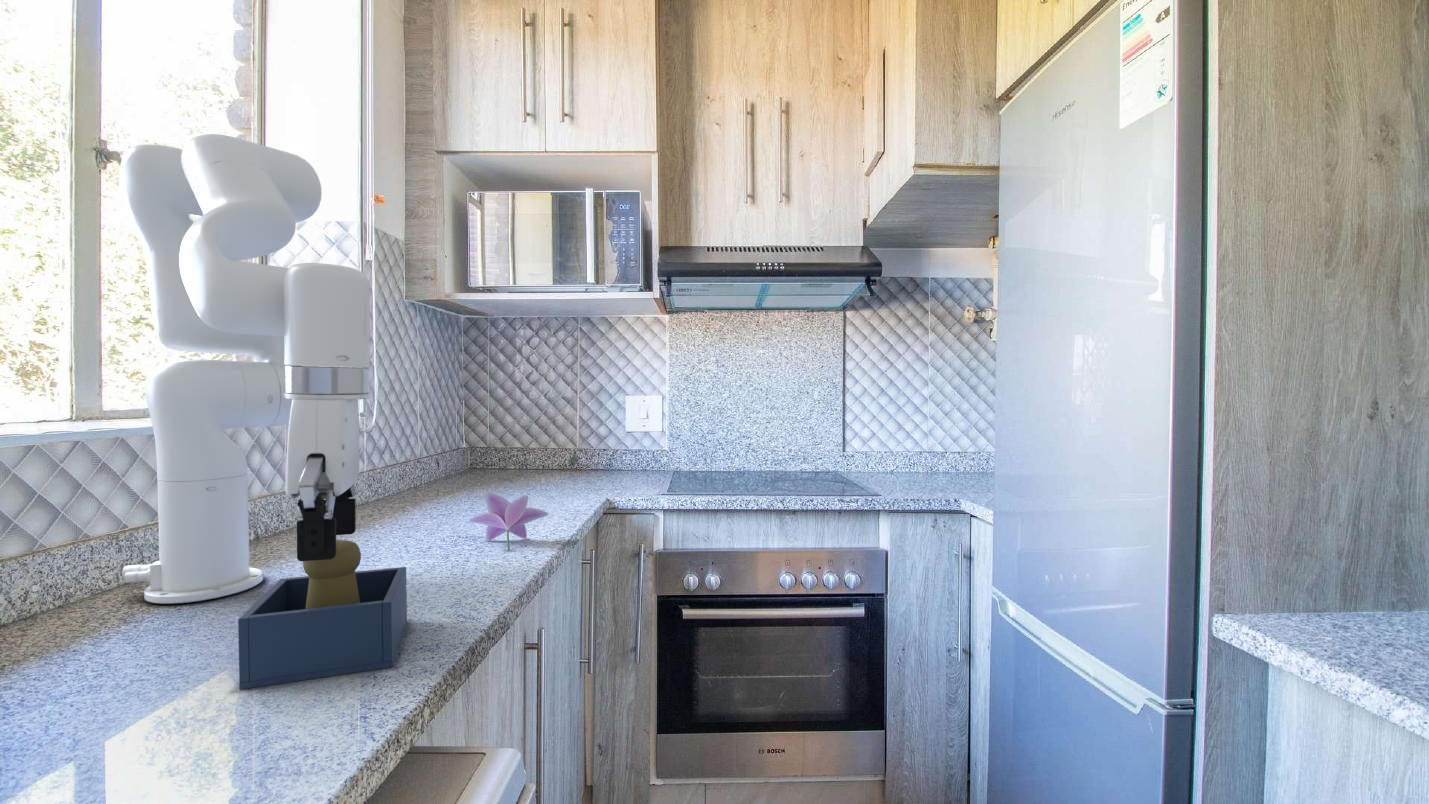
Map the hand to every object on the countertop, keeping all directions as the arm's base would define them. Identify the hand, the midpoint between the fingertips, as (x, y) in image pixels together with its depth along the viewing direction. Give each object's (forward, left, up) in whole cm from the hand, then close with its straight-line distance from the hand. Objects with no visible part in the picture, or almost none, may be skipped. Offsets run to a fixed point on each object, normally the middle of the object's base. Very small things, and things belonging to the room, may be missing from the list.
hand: (328, 545), depth 64 cm
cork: (0, -1, -11) cm, 11 cm away
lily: (+19, +38, -11) cm, 45 cm away
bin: (0, -1, -11) cm, 11 cm away
